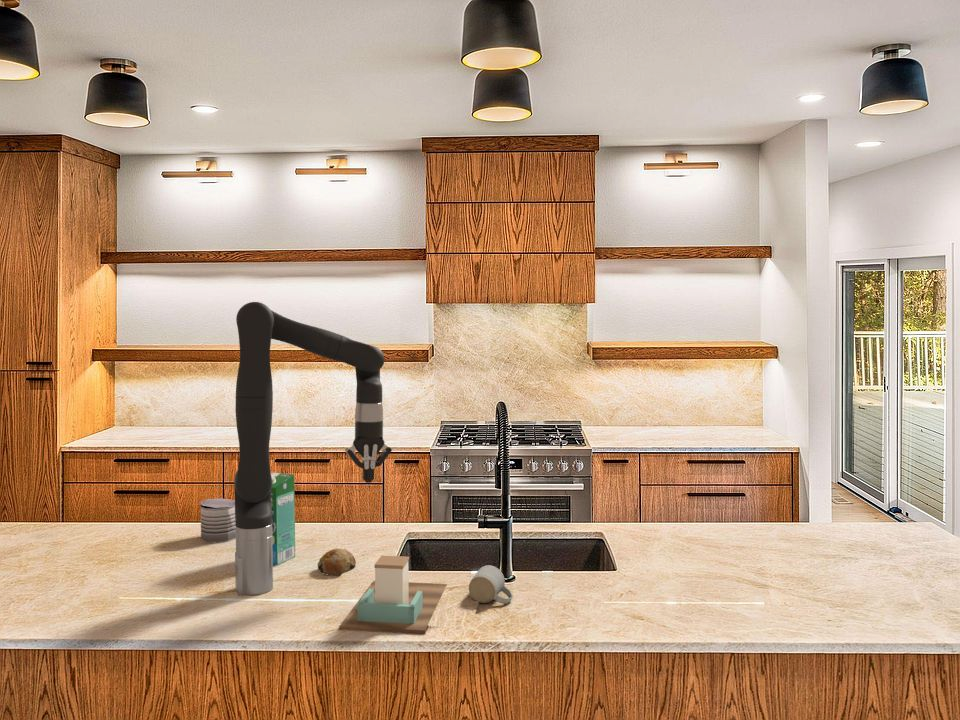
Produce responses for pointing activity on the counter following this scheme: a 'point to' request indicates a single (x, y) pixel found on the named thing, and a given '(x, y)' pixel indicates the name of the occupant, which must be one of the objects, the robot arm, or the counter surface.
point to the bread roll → (336, 562)
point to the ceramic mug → (489, 585)
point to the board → (430, 602)
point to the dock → (389, 609)
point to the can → (218, 520)
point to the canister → (392, 580)
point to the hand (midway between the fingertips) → (368, 482)
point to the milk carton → (283, 517)
